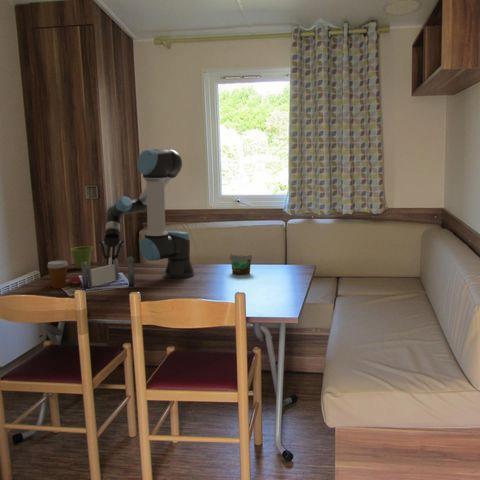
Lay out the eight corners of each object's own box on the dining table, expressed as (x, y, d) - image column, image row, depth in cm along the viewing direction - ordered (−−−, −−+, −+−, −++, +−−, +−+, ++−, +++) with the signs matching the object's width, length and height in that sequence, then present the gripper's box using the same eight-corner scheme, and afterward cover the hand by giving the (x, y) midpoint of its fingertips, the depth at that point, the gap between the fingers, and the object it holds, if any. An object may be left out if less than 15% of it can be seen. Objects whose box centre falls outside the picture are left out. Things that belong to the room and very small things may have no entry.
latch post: (136, 285, 251) (134, 255, 248) (135, 287, 247) (133, 256, 245) (128, 286, 250) (126, 255, 248) (127, 288, 247) (126, 257, 244)
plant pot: (84, 264, 300) (83, 245, 298) (98, 267, 293) (97, 247, 291) (67, 268, 291) (65, 248, 289) (80, 271, 284) (79, 250, 282)
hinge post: (90, 287, 249) (88, 261, 246) (89, 289, 245) (87, 262, 243) (82, 288, 248) (80, 261, 246) (81, 290, 245) (79, 263, 242)
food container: (226, 274, 271) (225, 255, 269) (230, 271, 277) (230, 253, 275) (248, 276, 266) (247, 257, 265) (252, 273, 272) (252, 254, 270)
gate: (90, 287, 247) (89, 266, 245) (87, 286, 249) (86, 265, 247) (119, 279, 260) (118, 260, 259) (116, 278, 262) (115, 259, 260)
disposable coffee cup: (63, 289, 247) (61, 264, 245) (44, 288, 249) (42, 264, 247) (73, 284, 256) (71, 260, 254) (55, 283, 258) (53, 259, 256)
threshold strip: (127, 286, 250) (127, 285, 250) (126, 288, 247) (126, 287, 247) (91, 288, 248) (91, 287, 248) (90, 289, 245) (90, 289, 245)
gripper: (125, 235, 280) (123, 273, 267) (101, 236, 279) (97, 273, 265) (124, 227, 274) (122, 265, 260) (99, 227, 272) (95, 266, 259)
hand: (109, 269), depth 263 cm, fingers closed
